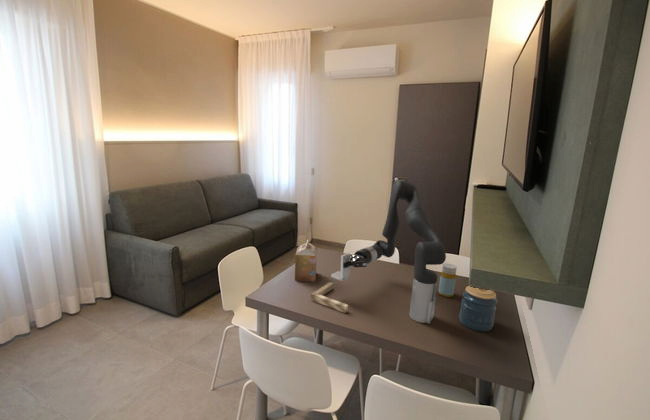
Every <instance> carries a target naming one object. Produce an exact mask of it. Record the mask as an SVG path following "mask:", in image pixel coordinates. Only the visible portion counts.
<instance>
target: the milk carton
mask: <svg viewBox="0 0 650 420" xmlns="http://www.w3.org/2000/svg"><path fill="white" fill-rule="evenodd" d="M308 241H309V239H307V240H306V242H304V243H302V244H300V245H299V246H298V247H297V248H296V252H295V257H294V258H295V261H294V281H301V282H316V275H317V260H318V258H317V257H318V248H317V247H316V246H315V245H313V244H312V243H310V242H308Z"/></svg>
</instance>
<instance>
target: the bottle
mask: <svg viewBox="0 0 650 420" xmlns="http://www.w3.org/2000/svg"><path fill="white" fill-rule="evenodd" d="M456 280H457V266H456V265H455V264H452V263H446V262H445V263H443V264H442V269H441V272H440V277H439V284H438V294H439V295H440V296H442V297H444V298H452V297H453V296H454V293H455V288H456Z"/></svg>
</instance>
